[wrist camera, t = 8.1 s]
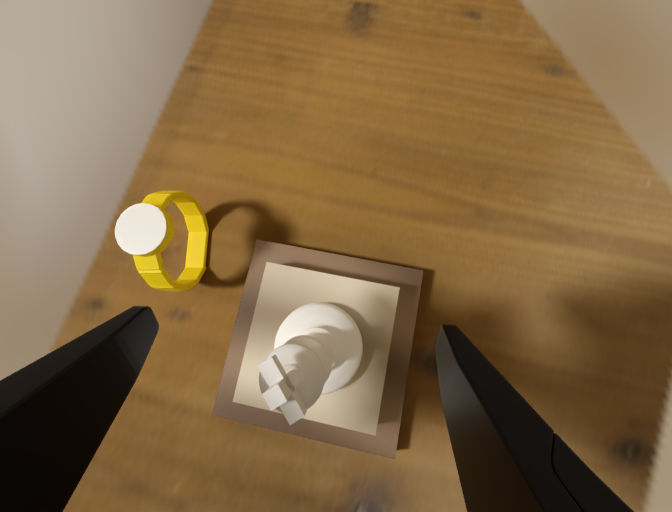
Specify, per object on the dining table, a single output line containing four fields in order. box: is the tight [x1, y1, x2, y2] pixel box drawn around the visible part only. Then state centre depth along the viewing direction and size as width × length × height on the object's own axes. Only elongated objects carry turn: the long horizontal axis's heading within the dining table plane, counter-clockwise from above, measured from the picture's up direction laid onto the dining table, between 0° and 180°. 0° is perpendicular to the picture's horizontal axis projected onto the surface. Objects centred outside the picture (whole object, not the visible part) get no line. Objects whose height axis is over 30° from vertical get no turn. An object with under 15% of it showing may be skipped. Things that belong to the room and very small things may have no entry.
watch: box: [115, 191, 209, 291], centre depth 18 cm, size 6×3×6 cm, turn 0°
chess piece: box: [258, 302, 363, 425], centre depth 12 cm, size 5×5×10 cm
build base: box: [212, 239, 423, 459], centre depth 18 cm, size 11×11×2 cm
